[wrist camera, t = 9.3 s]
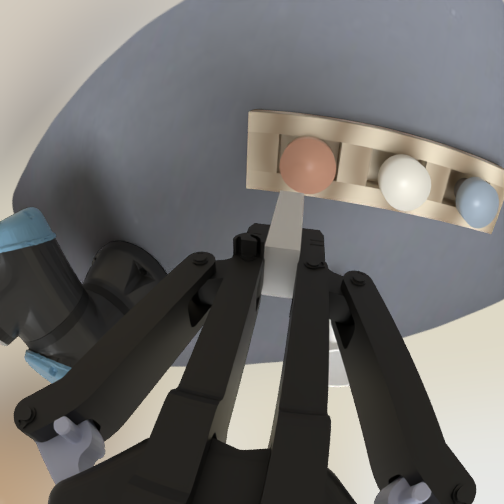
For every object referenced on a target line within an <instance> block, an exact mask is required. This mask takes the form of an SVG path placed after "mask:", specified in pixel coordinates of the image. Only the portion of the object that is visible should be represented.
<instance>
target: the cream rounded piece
mask: <svg viewBox="0 0 504 504" xmlns="http://www.w3.org/2000/svg"><path fill="white" fill-rule="evenodd" d="M378 185H379V188H380V190H381V192H382V194H383V195H384V197H385V199H386V201H387V202H388V203H389V204H390V205H391V206H392V207H393V208H395V209H397V210H401V211H411V210H414V209H416V208H418V207H420V206H421V205H422V204H423V203H424V202H425V201H426V200H427V198H428V196H429V194H430V190H431V179H430V176H429V173H428V171H427V170H426V169H425V167H424V166H423V165H421V164H420V163H419V162H418V161H417V160H415V159H414V158H413V157H411V156H408V155H404V154H398V155H394V156H391V157H390V158H388V159H387V160H386V161H385V162H384V163H383V164H382V166H381V167H380V170H379V173H378Z"/></svg>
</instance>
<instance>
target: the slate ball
mask: <svg viewBox="0 0 504 504" xmlns="http://www.w3.org/2000/svg"><path fill="white" fill-rule="evenodd" d="M454 195H455V197H456V208H457V211H458V212H459V214H460V215H461V216H462V217H463V219H464V220H465V221H466V222H467V223H468V224H469V225H470V226H471V227H473V228H483V227H485V226H487V225H488V224H490V223H491V222H492V221H493V219H494V218H495V216H496V214H497V211H498V208H499V197H498V194H497V192H496V190H495V189H494V188H493V187H492V186H491V185H490V184H489V183H487V182H486V181H485V180H483V179H482V178H480V177H471V178H461V179H459V180H458V181H457V182H456V184H455V187H454Z"/></svg>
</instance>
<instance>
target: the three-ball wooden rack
mask: <svg viewBox="0 0 504 504" xmlns="http://www.w3.org/2000/svg"><path fill="white" fill-rule="evenodd" d="M304 136H310V137H315V138H318V139H320V140H322V141H324V142H325V143H326V144H327V145H328V146H329V147H330V149H331V150H332V152H333V155H334V158H335V162H336V174H335V177H334V180H333V181H332V183H331V184H330V185H329V186H328V187H327V188H326V189H325V190H323V191H321V192H319V193H315V194H304V195H305V196H312V197H318V198H325V199H331V200H338V201H344V202H350V203H355V204H361V205H367V206H372V207H377V208H383V209H388V210H393V211H398V212H403V213H407V214H412V215H417V216H421V217H426V218H430V219H435V220H439V221H443V222H447V223H451V224H455V225H459V226H463V227H467V228H471V229H475V230H479V231H482V232H486V233H489V234H491V233H492V231H493V228H494V226H495V223H496V220H497V218H498V215H499V212H500V209H501V206H502V203H503V200H504V169H503V168H502V167H500V166H499V165H497V164H494V163H492V162H490V161H487V160H485V159H482V158H480V157H477V156H475V155H472V154H470V153H467V152H464V151H462V150H459V149H456V148H453V147H450V146H447V145H444V144H441V143H438V142H435V141H432V140H429V139H425V138H422V137H419V136H415V135H411V134H408V133H404V132H400V131H396V130H392V129H388V128H384V127H379V126H375V125H370V124H365V123H360V122H355V121H350V120H344V119H338V118H332V117H325V116H318V115H311V114H303V113H294V112H284V111H272V110H257V109H255V110H252V111H249V117H248V147H247V178H246V188H249V189H258V190H266V191H275V192H280V190H281V191H290V192H297V191H295V190H293V189H291V188H290V187H289V186H288V185H287V184H286V183H285V182H284V180H283V178H282V176H281V173H280V159H281V156H282V154H283V152H284V150H285V148H286V147H287V145H288V144H289V143H290V142H292V141H293V140H295V139H297V138H300V137H304ZM398 154H404V155H408V156H411V157H413V158H414V159H415V160H417V161H418V162H419V163H420V164H421V165H423V166H424V167H425V169H426V170H427V171H428V173H429V176H430V179H431V190H430V194H429V196H428V198H427V200H426V201H425V202H424V203H423V204H422V205H421V206H420V207H418V208H416V209H414V210H411V211H401V210H397V209H395V208H393V207H392V206H391V205H390V204H389V203H388V202H387V201H386V199H385V197H384V195H383V194H382V192H381V190H380V188H379V185H378V173H379V170H380V167H381V166H382V164H383V163H384V162H385V161H386V160H387V159H388V158H390V157H391V156H394V155H398ZM471 177H480V178H482V179H483V180H485V181H486V182H487V183H489V184H490V185H491V186H492V187H493V188H494V189H495V190H496V192H497V194H498V197H499V208H498V211H497V214H496V216H495V218H494V219H493V221H492V222H491V223H490V224H488V225H487V226H485V227H483V228H473V227H471V226H470V225H469V224H468V223H467V222H466V221H465V220H464V219H463V217H462V216H461V215H460V214H459V212H458V211H457V208H456V197H455V195H454V187H455V184H456V182H457V181H458V180H459V179H461V178H471ZM298 193H299V192H298Z"/></svg>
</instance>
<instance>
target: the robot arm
mask: <svg viewBox="0 0 504 504" xmlns="http://www.w3.org/2000/svg"><path fill="white" fill-rule="evenodd" d="M303 207H304V193H298V192H290V191H281V190H280V194H279V197H278V201H277V204H276V208H275V211H274V215H273V218H272V222H271V225H266V224H258V223H254V224H253V225H252V226H250V227H249V229H248V231H247V233H242V234H239V235H237V236H235V237H234V238H233V257H232V258H230V259H227V260H217V261H215V257H214V256H213V255H212V254H210V253H208V252H196V253H193V254H191V255H189V256H188V257H187V258H186V259H184V260H183V261H182V262H181V263H180V264H179V265H178V266H177V267H176V268H175V269H173V270H172V271H171V272H170V273H169V274H168V275H166V273H165V272H164V270H163V269H162V267H161V266H160V265H159V264H158V262H157V261H156V260H155V259H154V258H153V257H151V256H150V255H149V254H148V253H147V252H145V251H144V250H142V249H141V248H139V247H137V246H135V245H133V244H130V243H127V242H121V241H115V242H110V243H108V244H106V245H105V246H104V247H103V248H102V249H101V250H100V251H99V252H98V253H97V254H96V255H95V257H94V259H93V261H92V266H91V267H90V269H89V271H88V273H87V275H86V278H85V280H84V282H83V284H81V282H80V281H79V279H78V277H77V276H76V274H75V272H74V271H73V269H72V267H71V266H70V264H69V262H68V260H67V259H66V257H65V255H64V253H63V252H62V250H61V248H60V246H59V244H58V242H57V240H56V238H55V237H56V235H55V233H53V232H52V230H51V229H50V227H49V225H48V223H47V221H46V220H45V218H44V216H43V214H42V213H41V211H40V210H38V209H37V208H34V207H28V208H25V209H23V210H21V211H19V212H17V213H15V214H13V215H11V216H9V217H8V218H6V219H4V220H2V221H0V345H4V346H8V345H9V344H10V343H11V342H12V341H13V340H14V339H16V338H17V337H18V336H19V337H20V338H21V339H22V340H23V341H24V342H25V343H26V345H27V346H28V347H29V349H28V350H26V354H25V360H26V362H28V364H29V365H30V366H31V367H32V368H33V369H34V370H35V371H36V372H38V373H39V374H40V375H42V376H43V377H44V378H45V379H47V380H48V381H49V382H51V383H52V384H50V385H48V386H46V387H45V388H43V389H41V390H39V391H37V392H35V393H34V394H32V395H30V396H28V397H26V398H24V399H23V400H21V401H20V402H19V403H18V405H17V406H16V408H15V411H14V422H15V424H16V426H17V428H18V429H20V430H21V431H22V432H23V433H24V434H26V435H27V436H29V437H30V438H32V439H33V440H34V441H35V442H36V444H37V446H38V448H39V451H40V453H41V455H42V458H43V460H44V462H45V464H46V466H47V469H48V471H49V473H50V474H51V477H52V479H53V481H54V482H55V484H56V485H55V487H54V488H53V489H52V491H51V493H50V496H49V500H48V504H357V503H356V502H355V501H354V499H353V498H352V497H351V495H350V494H349V493H348V491H347V490H346V489H345V487H344V486H343V484H342V483H341V482H340V480H339V479H338V478H337V476H336V475H335V474H334V473H333V472H332V471H331V470H330V469H329V468H327V467H328V457H329V446H330V433H331V419H330V416H329V415H328V414H327V403H328V382H329V319H330V320H331V326H332V329H333V332H334V335H335V338H336V341H337V345H338V348H339V351H340V354H341V358H342V361H343V364H344V368H345V371H346V374H347V378H348V381H349V385H350V388H351V392H352V395H353V399H354V403H355V406H356V410H357V413H358V418H359V421H360V425H361V429H362V433H363V437H364V441H365V445H366V449H367V453H368V458H369V462H370V466H371V469H372V472H373V476H374V478H375V481H376V483H377V485H378V488H379V489H380V492H379V493H378V495H377V496H376V499H375V501H374V504H472V502H473V501H474V498H475V495H476V484H475V482H474V480H473V478H472V477H471V476H470V475H469V473H468V472H467V470H465V468H464V466H463V465H462V464H461V462H460V461H459V460H458V459H457V457H456V456H455V455H454V453H453V452H452V451H451V449H450V448H449V447H448V446H447V444H446V443H445V440H444V437H443V434H442V432H441V429H440V426H439V423H438V421H437V418H436V415H435V412H434V410H433V407H432V405H431V402H430V400H429V397H428V395H427V392H426V390H425V388H424V385H423V383H422V380H421V378H420V376H419V373H418V371H417V369H416V367H415V364H414V362H413V360H412V358H411V355H410V353H409V351H408V349H407V347H406V345H405V343H404V340H403V338H402V336H401V334H400V332H399V330H398V328H397V326H396V324H395V322H394V320H393V318H392V316H391V314H390V312H389V311H388V309H387V307H386V305H385V303H384V301H383V299H382V297H381V295H380V294H379V292H378V290H377V288H376V286H375V284H374V283H373V281H372V279H371V278H370V277H369V276H368V275H366V274H365V273H363V272H360V271H348V272H347V273H345V275H344V276H341V275H338V274H336V273H334V272H332V271H330V270H329V269H328V266H327V263H326V262H325V249H324V235H323V234H322V233H321V232H320V230H313V229H305V228H302V222H303ZM261 291H262V295H268V296H276V297H283V298H290V299H292V304H291V310H290V316H289V318H290V319H289V326H288V333H287V340H286V347H285V354H284V361H283V367H282V374H281V380H280V386H279V393H278V398H277V404H276V409H275V415H274V420H273V426H272V431H271V436H270V441H269V445H268V449H256V450H239V449H236V448H234V447H232V446H230V445H228V444H226V438H227V431H228V427H229V423H230V419H231V415H232V412H233V408H234V404H235V400H236V396H237V393H238V389H239V384H240V381H241V377H242V373H243V369H244V366H245V362H246V358H247V354H248V350H249V346H250V342H251V338H252V334H253V330H254V326H255V322H256V318H257V313H258V309H259V305H260V298H261ZM202 326H203V328H202V330H201V333H200V335H199V337H198V340H197V342H196V345H195V347H194V349H193V352H192V354H191V357H190V359H189V362H188V364H187V366H186V369H185V371H184V374H183V376H182V379H181V381H180V384H179V386H178V387H177V388H176V389H172V390H171V391H170V392H169V393H168V395H167V397H166V399H165V401H164V404H163V406H162V408H161V411H160V414H159V416H158V418H157V421H156V423H155V426H154V428H153V431H152V433H151V435H150V438H147V439H145V440H143V441H142V442H140V443H138V444H136V445H134V446H132V447H130V448H129V449H127V450H125V451H123V452H121V453H119V454H117V455H115V456H113V457H112V458H109V459H108V460H106V461H104V462H102V463H99V464H98V465H95V466H94V464H95V462H96V461H97V460H98V459H101V458H102V457H103V456H104V455H105V449H104V447H105V445H104V441H106V440H107V439H109V438H110V437H111V436H112V435H113V434H115V433H116V432H117V431H118V430H119V429H120V428H121V427H122V426H123V425H124V423H125V422H126V421H127V420H128V419H129V417H130V416H131V415H132V414H133V412H134V411H135V410H136V409H137V408H138V406H139V405H140V404H141V403H142V401H143V400H144V399H145V398H146V396H147V395H148V394H149V393H150V391H151V390H152V389H153V388H154V386H155V385H156V384H157V383H158V381H159V380H160V379H161V377H162V376H163V375H164V374H165V372H166V371H167V370H168V369H169V368H170V366H171V365H172V364H173V363H174V361H175V360H176V359H177V358H178V356H179V355H180V354H181V352H182V351H183V350H184V349H185V347H186V346H187V345H188V344H189V342H190V341H191V340H192V339H193V337H194V336H195V335H196V334H197V332H198V331H199V330H200V329H201V327H202Z"/></svg>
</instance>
